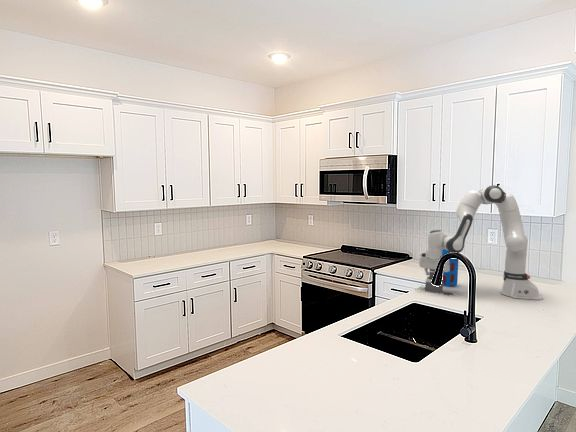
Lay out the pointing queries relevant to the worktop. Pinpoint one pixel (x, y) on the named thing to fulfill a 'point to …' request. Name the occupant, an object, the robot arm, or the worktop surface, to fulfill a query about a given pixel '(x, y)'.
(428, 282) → the camera body
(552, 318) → the worktop surface
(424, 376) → the worktop surface
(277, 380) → the worktop surface
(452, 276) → the blue red-spotted block
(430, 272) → the lens
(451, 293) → the lens cap
